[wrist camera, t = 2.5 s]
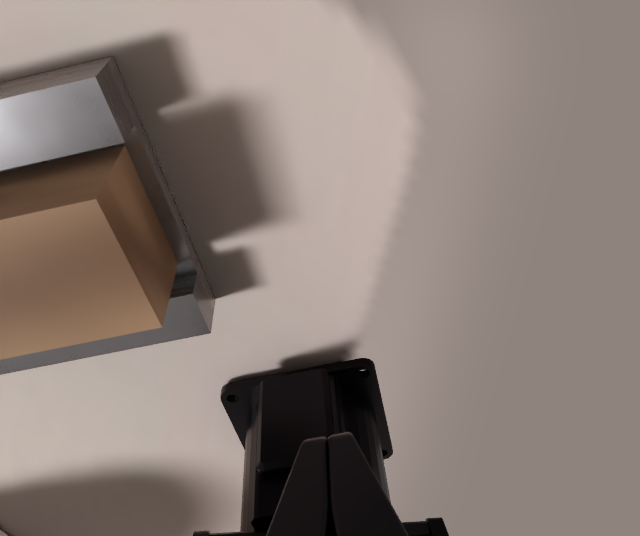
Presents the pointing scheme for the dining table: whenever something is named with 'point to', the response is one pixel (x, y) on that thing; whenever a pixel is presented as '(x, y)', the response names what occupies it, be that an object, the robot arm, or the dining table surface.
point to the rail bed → (86, 137)
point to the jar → (2, 533)
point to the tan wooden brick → (79, 254)
